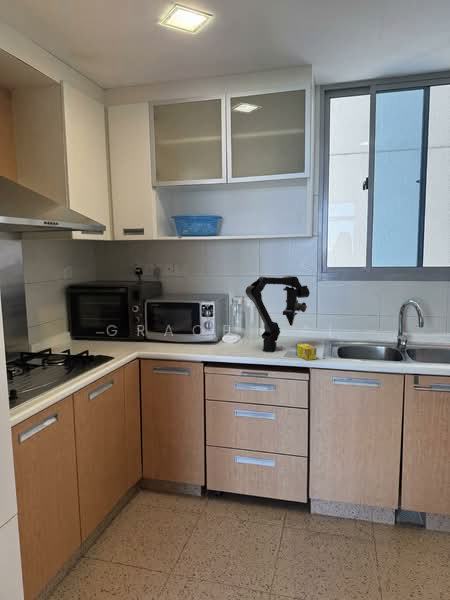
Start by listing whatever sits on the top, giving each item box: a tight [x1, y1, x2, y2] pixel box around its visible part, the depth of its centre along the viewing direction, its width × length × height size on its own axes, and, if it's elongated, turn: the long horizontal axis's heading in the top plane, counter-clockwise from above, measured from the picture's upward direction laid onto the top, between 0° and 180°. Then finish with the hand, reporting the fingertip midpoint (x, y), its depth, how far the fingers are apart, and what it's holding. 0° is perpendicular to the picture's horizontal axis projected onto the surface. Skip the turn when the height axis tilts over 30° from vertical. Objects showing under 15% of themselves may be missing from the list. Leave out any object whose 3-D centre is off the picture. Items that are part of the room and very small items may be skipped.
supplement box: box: [296, 343, 318, 361], centre depth 213 cm, size 6×6×11 cm
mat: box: [283, 350, 303, 359], centre depth 219 cm, size 12×12×1 cm
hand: (291, 325), depth 232 cm, fingers closed
